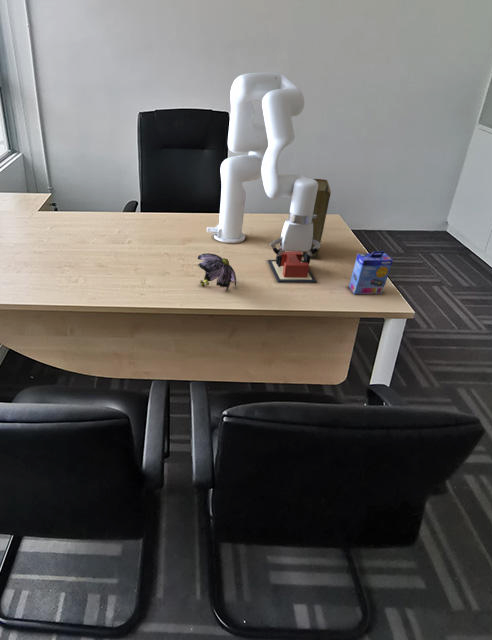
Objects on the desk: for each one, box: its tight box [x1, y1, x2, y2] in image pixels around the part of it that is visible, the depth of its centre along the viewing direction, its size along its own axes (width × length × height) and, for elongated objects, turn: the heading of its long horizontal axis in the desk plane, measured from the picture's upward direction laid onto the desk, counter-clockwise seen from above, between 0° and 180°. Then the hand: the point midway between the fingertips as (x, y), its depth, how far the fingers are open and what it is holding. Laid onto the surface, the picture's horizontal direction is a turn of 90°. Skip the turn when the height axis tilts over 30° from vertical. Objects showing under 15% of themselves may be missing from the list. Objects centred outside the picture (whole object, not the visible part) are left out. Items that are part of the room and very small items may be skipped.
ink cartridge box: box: [348, 250, 394, 295], centre depth 157 cm, size 10×6×14 cm, turn 95°
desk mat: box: [267, 259, 317, 284], centre depth 173 cm, size 13×18×1 cm
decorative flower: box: [197, 252, 237, 292], centre depth 160 cm, size 14×12×15 cm
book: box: [300, 178, 332, 259], centre depth 182 cm, size 16×6×25 cm, turn 168°
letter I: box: [281, 251, 310, 278], centre depth 171 cm, size 8×12×4 cm, turn 0°
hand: (291, 265), depth 172 cm, fingers open, 9 cm apart
